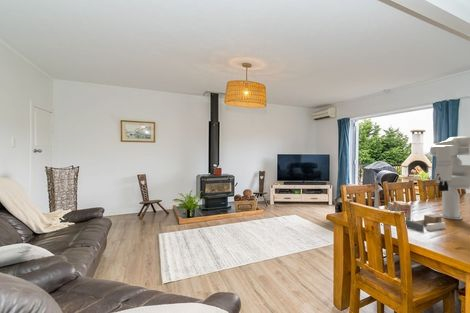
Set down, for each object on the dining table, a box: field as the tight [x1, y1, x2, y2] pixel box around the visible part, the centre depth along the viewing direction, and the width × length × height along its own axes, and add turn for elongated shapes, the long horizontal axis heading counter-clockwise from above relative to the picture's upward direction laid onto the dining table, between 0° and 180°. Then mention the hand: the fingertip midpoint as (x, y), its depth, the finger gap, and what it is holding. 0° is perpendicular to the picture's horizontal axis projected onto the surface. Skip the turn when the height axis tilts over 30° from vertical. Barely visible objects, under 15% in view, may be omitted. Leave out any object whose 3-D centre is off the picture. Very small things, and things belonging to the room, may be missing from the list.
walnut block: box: [423, 213, 443, 226], centre depth 155 cm, size 7×6×7 cm
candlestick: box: [373, 180, 380, 210], centre depth 165 cm, size 13×13×30 cm
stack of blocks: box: [387, 200, 412, 221], centre depth 176 cm, size 21×6×12 cm, turn 168°
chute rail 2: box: [426, 221, 446, 231], centre depth 150 cm, size 14×2×4 cm, turn 107°
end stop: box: [405, 220, 425, 232], centre depth 151 cm, size 2×10×4 cm, turn 17°
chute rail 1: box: [411, 218, 425, 226], centre depth 159 cm, size 14×2×4 cm, turn 107°
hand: (443, 190), depth 158 cm, fingers open, 2 cm apart
